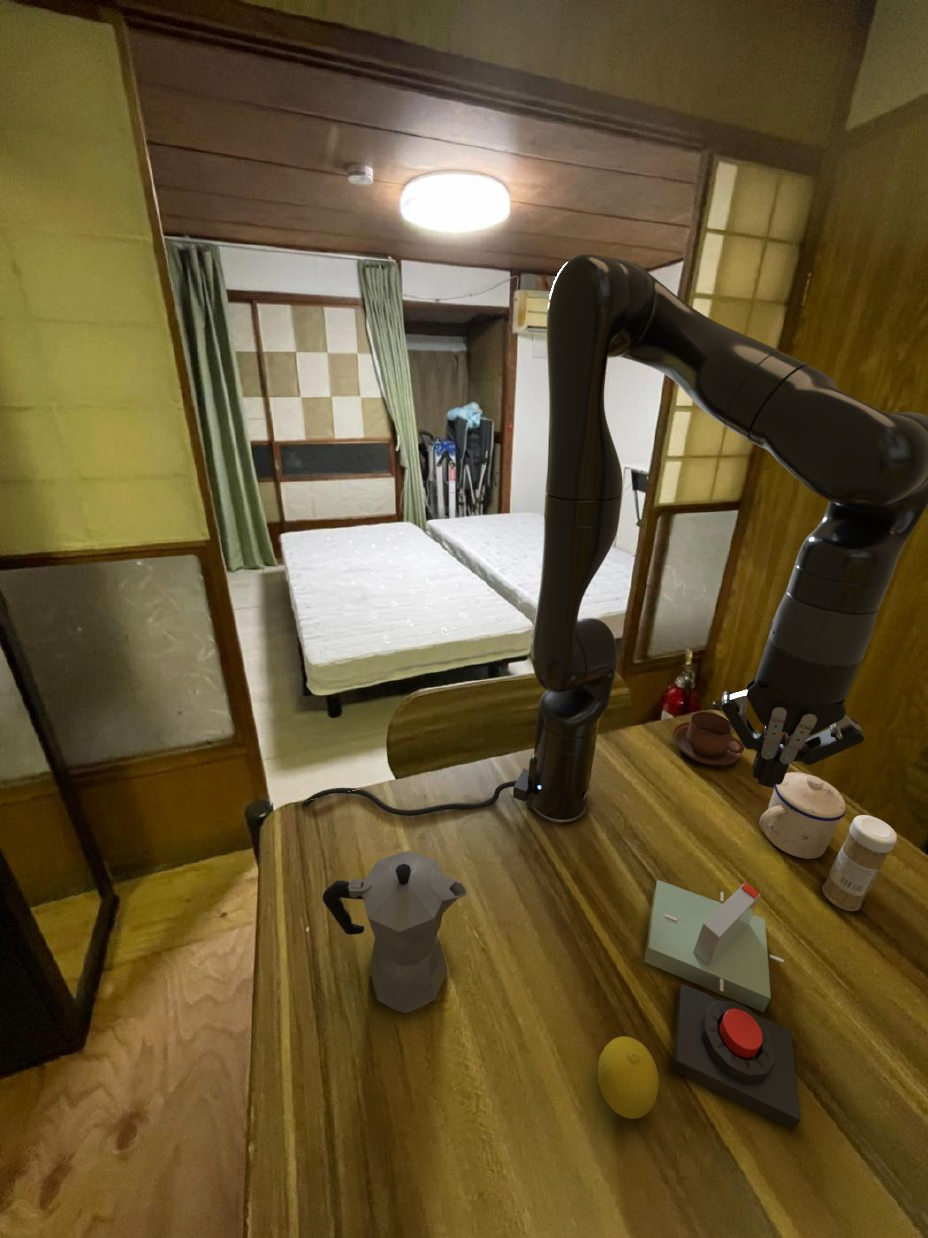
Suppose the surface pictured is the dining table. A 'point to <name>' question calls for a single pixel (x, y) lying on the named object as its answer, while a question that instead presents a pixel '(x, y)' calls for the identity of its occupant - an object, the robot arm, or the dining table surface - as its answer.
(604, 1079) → the lemon
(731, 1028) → the tap button
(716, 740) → the cup and saucer
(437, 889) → the coffeepot
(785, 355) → the robot arm
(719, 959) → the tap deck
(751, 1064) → the button block
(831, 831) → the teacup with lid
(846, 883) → the sprinkles bottle
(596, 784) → the dining table surface
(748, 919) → the gray rectangular block
